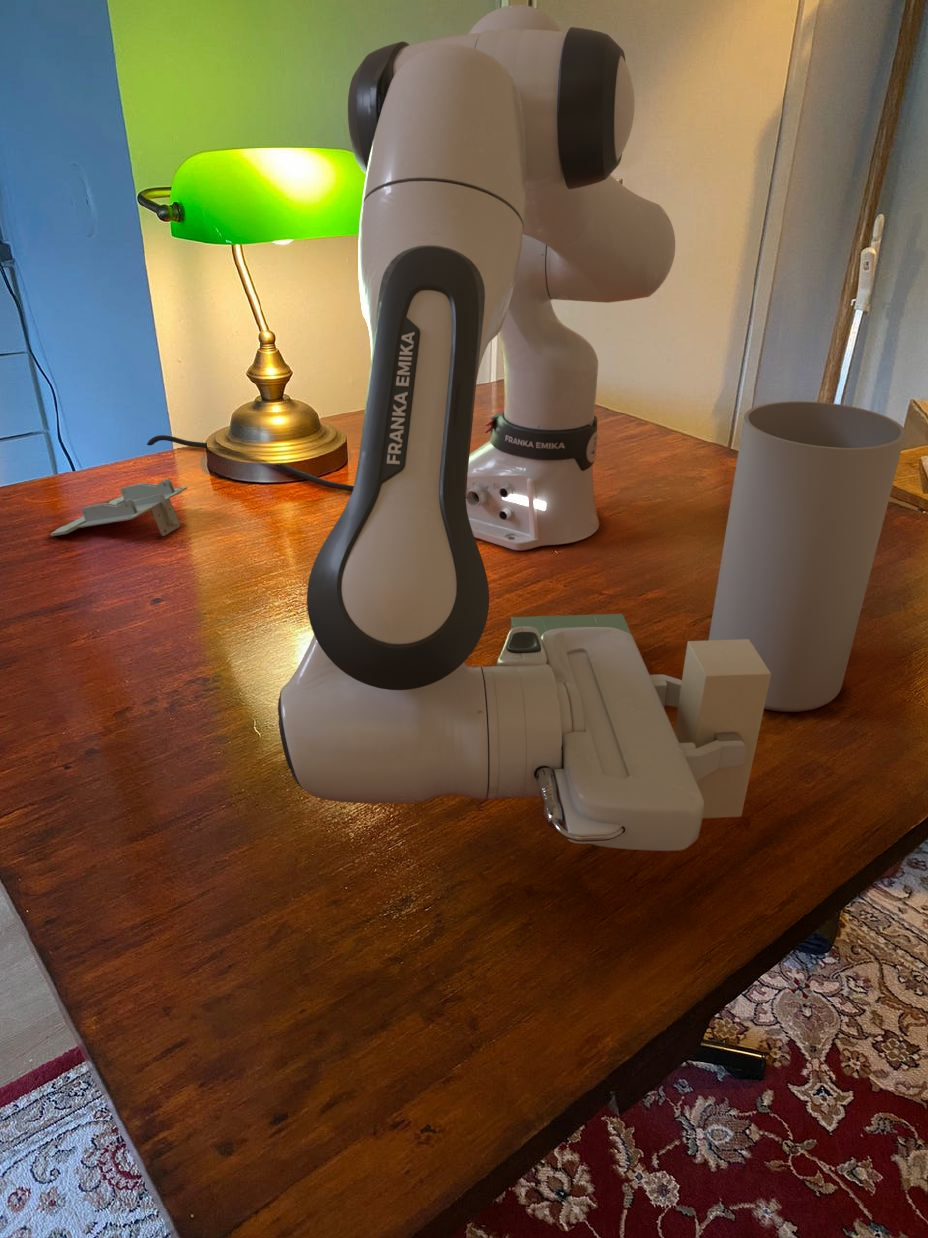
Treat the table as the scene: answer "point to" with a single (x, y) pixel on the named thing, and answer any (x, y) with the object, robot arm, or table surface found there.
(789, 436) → the cylinder vase
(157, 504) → the metal bracket
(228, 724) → the table surface
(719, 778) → the beige rectangular block
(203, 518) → the table surface
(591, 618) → the block
